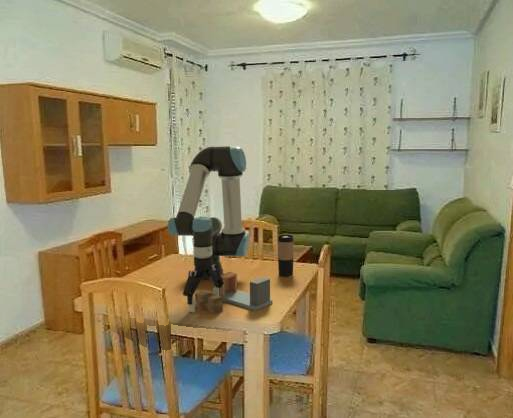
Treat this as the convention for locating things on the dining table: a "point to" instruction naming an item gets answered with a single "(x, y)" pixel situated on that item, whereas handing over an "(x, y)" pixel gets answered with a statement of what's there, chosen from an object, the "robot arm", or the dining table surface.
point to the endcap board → (251, 295)
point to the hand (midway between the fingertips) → (204, 307)
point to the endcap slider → (228, 282)
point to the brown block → (208, 302)
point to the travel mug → (285, 255)
